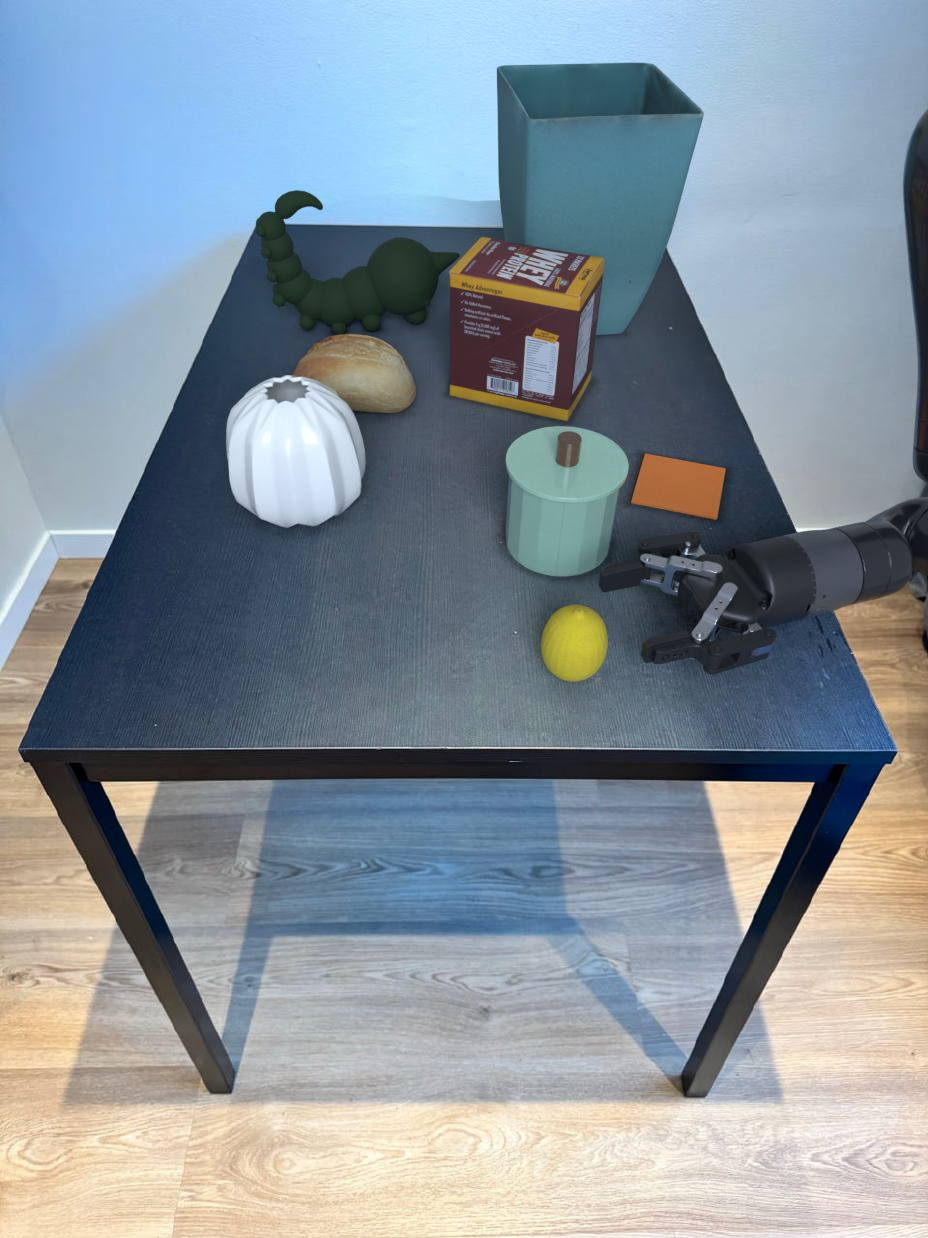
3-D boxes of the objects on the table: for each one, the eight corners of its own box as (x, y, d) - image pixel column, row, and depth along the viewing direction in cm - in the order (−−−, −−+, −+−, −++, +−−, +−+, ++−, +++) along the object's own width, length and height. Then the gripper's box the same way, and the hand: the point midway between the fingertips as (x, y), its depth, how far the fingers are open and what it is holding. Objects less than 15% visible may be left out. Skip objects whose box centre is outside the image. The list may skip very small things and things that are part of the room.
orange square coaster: (725, 471, 97) (725, 468, 97) (716, 520, 91) (717, 517, 91) (644, 456, 99) (644, 453, 99) (630, 503, 93) (631, 500, 93)
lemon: (579, 644, 79) (590, 578, 73) (613, 687, 75) (627, 622, 69) (525, 664, 77) (532, 598, 71) (557, 708, 73) (567, 644, 68)
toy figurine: (284, 358, 116) (470, 330, 117) (248, 212, 102) (458, 182, 104) (283, 324, 122) (459, 298, 124) (248, 182, 109) (447, 155, 110)
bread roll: (295, 383, 109) (287, 323, 103) (416, 382, 109) (414, 322, 103) (288, 427, 102) (278, 365, 96) (416, 426, 102) (415, 364, 97)
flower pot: (662, 348, 116) (707, 110, 96) (513, 358, 114) (528, 117, 93) (620, 281, 130) (652, 60, 109) (487, 288, 127) (495, 65, 107)
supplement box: (476, 356, 114) (480, 234, 103) (591, 380, 110) (607, 256, 99) (446, 395, 107) (446, 270, 96) (567, 422, 103) (582, 295, 92)
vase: (294, 563, 86) (275, 448, 76) (209, 501, 92) (182, 388, 82) (396, 500, 93) (390, 387, 83) (310, 447, 99) (296, 337, 90)
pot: (617, 520, 91) (631, 444, 84) (598, 586, 84) (611, 509, 77) (520, 501, 93) (526, 425, 86) (493, 563, 86) (497, 486, 79)
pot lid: (636, 447, 85) (642, 415, 82) (615, 519, 77) (620, 486, 75) (522, 426, 87) (524, 394, 84) (490, 494, 79) (492, 461, 77)
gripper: (760, 494, 78) (592, 527, 75) (854, 602, 69) (668, 645, 65) (739, 557, 84) (582, 591, 80) (825, 665, 74) (651, 708, 71)
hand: (621, 615), depth 73 cm, fingers open, 8 cm apart
